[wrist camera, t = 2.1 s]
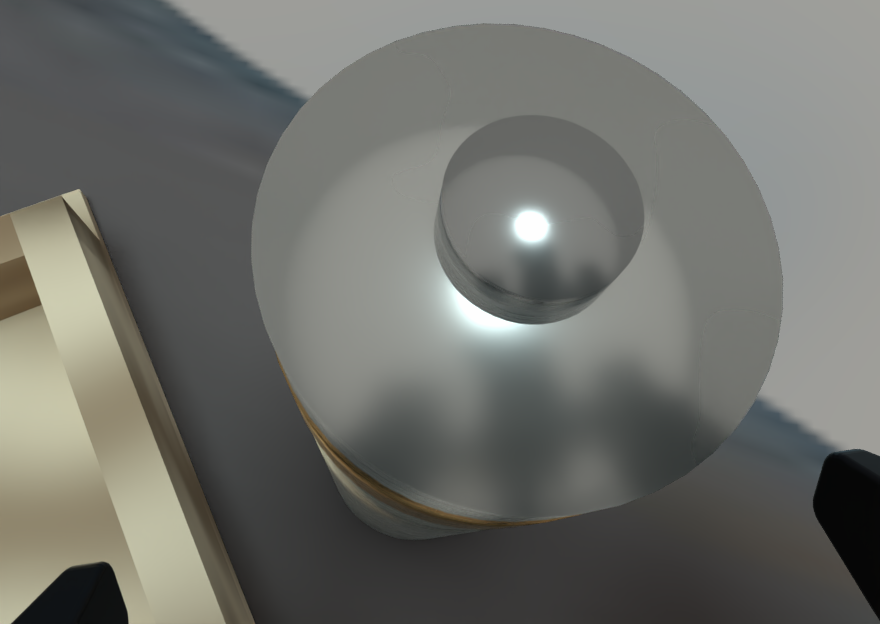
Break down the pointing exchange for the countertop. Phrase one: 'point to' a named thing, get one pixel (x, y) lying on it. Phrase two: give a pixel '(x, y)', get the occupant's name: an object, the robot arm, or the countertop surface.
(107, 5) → the countertop surface
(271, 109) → the countertop surface
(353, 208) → the cell
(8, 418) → the cradle
